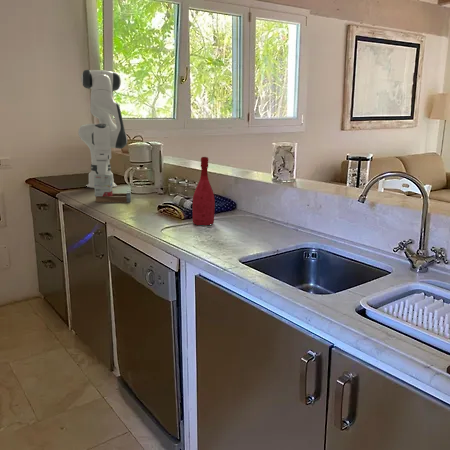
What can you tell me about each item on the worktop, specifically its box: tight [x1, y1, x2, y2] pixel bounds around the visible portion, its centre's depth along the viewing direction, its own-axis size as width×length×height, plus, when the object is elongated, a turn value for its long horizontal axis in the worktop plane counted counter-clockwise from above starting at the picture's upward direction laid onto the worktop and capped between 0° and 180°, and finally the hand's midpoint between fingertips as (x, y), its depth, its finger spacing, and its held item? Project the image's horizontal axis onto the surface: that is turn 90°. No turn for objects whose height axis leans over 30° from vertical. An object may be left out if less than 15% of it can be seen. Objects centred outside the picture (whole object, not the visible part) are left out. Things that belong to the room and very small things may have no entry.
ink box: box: [94, 174, 113, 197], centre depth 249 cm, size 9×5×12 cm, turn 86°
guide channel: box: [95, 189, 132, 203], centre depth 252 cm, size 10×18×5 cm, turn 100°
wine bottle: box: [192, 156, 216, 226], centre depth 203 cm, size 10×10×30 cm
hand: (103, 181), depth 249 cm, fingers closed on ink box, 5 cm apart
